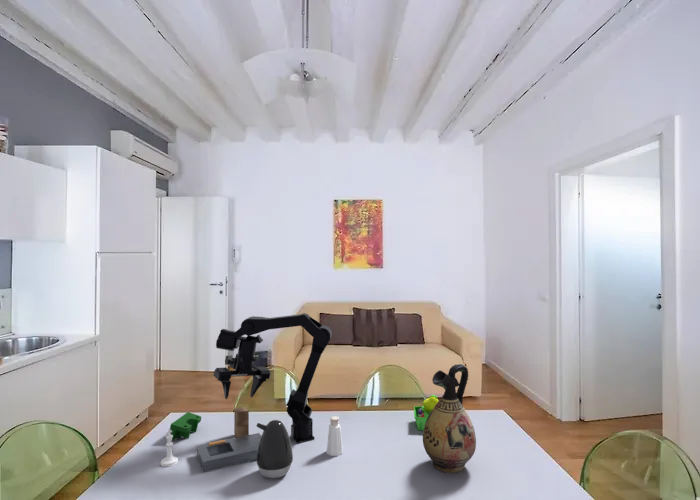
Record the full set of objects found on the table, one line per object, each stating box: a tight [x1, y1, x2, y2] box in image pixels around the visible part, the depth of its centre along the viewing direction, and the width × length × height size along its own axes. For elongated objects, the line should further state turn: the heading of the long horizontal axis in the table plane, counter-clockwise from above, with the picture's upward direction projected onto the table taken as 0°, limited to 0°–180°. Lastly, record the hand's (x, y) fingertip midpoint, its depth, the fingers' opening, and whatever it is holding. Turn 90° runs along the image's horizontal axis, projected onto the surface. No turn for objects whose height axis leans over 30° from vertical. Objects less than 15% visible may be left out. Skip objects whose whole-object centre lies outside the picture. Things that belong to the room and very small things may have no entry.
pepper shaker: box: [326, 415, 344, 457], centre depth 134 cm, size 5×5×11 cm
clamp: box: [169, 411, 202, 441], centre depth 148 cm, size 12×6×9 cm, turn 167°
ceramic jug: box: [422, 363, 477, 474], centre depth 125 cm, size 17×15×30 cm
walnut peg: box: [233, 406, 250, 438], centre depth 147 cm, size 4×4×9 cm
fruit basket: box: [413, 394, 439, 431], centre depth 155 cm, size 11×9×11 cm
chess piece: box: [160, 428, 179, 468], centre depth 127 cm, size 5×5×10 cm
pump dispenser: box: [256, 419, 294, 479], centre depth 121 cm, size 10×10×15 cm
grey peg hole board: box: [196, 432, 262, 473], centre depth 131 cm, size 20×12×3 cm, turn 118°
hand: (238, 397), depth 146 cm, fingers open, 9 cm apart
